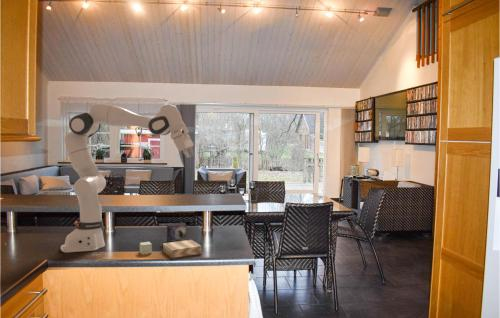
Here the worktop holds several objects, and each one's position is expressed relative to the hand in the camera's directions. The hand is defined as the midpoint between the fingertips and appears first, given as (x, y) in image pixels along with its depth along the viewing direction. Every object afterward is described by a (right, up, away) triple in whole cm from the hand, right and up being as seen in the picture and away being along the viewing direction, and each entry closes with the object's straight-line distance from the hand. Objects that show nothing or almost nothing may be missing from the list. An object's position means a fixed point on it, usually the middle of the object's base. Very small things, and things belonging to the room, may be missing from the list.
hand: (190, 156), depth 227 cm
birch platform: (-4, -50, -4) cm, 51 cm away
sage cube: (-23, -50, -6) cm, 56 cm away
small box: (-10, -49, +15) cm, 52 cm away
